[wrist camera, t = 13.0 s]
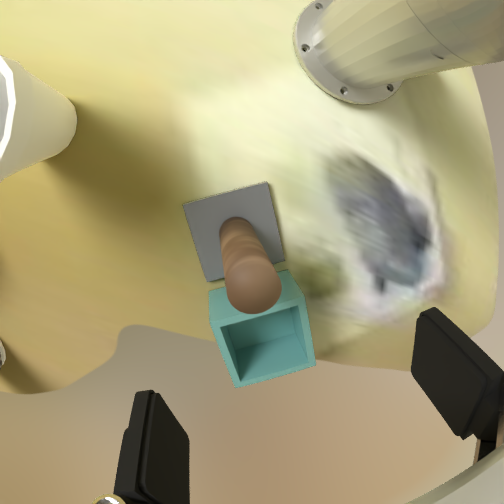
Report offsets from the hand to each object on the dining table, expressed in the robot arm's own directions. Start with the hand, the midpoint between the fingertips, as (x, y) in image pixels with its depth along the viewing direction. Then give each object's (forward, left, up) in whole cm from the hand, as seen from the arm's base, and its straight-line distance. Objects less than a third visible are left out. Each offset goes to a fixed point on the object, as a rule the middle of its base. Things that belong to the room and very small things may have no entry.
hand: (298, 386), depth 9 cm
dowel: (0, 0, -20) cm, 20 cm away
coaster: (0, 0, -21) cm, 21 cm away
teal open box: (0, +10, -21) cm, 23 cm away
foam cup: (+15, -16, -21) cm, 30 cm away
